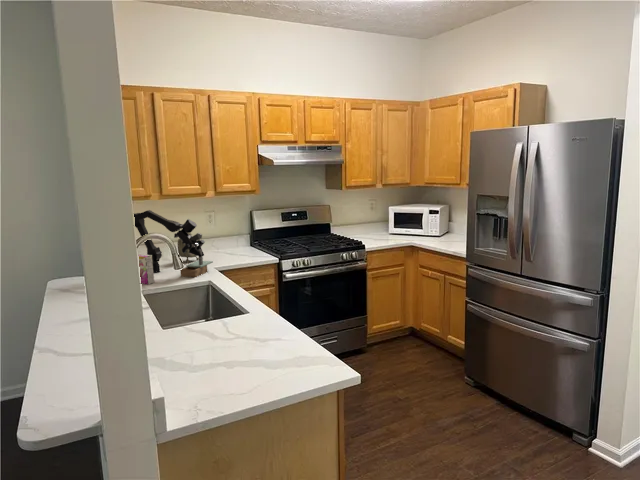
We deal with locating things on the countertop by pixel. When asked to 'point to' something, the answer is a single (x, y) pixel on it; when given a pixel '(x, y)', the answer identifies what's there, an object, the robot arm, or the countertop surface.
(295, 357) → the countertop surface
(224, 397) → the countertop surface
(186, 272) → the walnut box
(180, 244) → the tabletop clock
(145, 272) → the candy bar box
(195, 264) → the lid
